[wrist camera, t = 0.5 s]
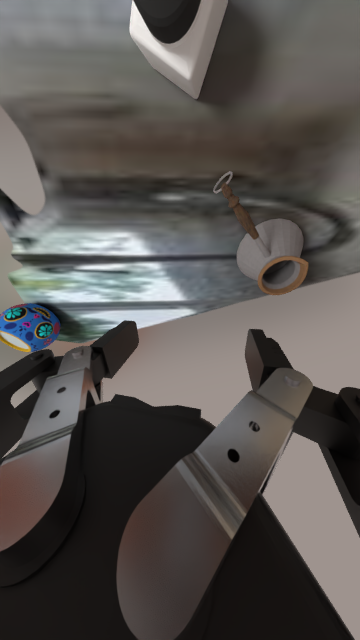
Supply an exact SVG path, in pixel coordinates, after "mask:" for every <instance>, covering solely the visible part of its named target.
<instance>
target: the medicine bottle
mask: <svg viewBox="0 0 360 640" xmlns="http://www.w3.org/2000/svg"><path fill="white" fill-rule="evenodd" d="M227 4H228V0H132V9H131V19H130V35H131V37H132V38H133V40H134V41H135V43H136V44H137V46H138V47H139V49H140V50H141V52H142V53H143V55H144V56H145V57H146V59H147V60H148V62H149V63H150V65H151V66H152V67H153V68H154V69H155V70H157V71H158V72H159V73H161V74H162V75H163V76H165V77H166V78H167V79H169V80H170V81H171V82H173V83H174V84H175V85H177V86H178V87H179V88H181V89H182V90H183V91H185V92H186V93H187V94H189V95H190V96H191V97H193V98H194V99H198V97H199V94H200V91H201V87H202V84H203V81H204V78H205V75H206V71H207V68H208V65H209V62H210V59H211V55H212V52H213V49H214V46H215V43H216V39H217V36H218V33H219V30H220V27H221V23H222V20H223V17H224V14H225V11H226V7H227Z"/></svg>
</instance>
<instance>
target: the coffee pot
mask: <svg viewBox="0 0 360 640" xmlns="http://www.w3.org/2000/svg"><path fill="white" fill-rule="evenodd" d="M228 174H231V176H230V178H229V180H228V181H227V182H226V183H223V184H222V185H221V189H219V190H218V191H215V189H216V187H217V185H218V184H219V183H220V181H221V180H222V179H223V178H224V177H225V176H227V175H228ZM231 178H232V172H230V171H229V172H228V173H226V174H225V175H224V176H222V177H221V178H220V180H219V181H218V182H217V184H216V185H215V187H214V191H213V192H214V193H218V192H220V191H221V190H222V192H223V195H224V197H225V198H227V199H228V201H229V207H230V208H233V209H234V212H235V214H236V216H237V219H238V221H239V222H240V224H241V225H242V226H243V227H244V229H245V230H246V231H247V232H248V233H247V234H246V235H245V237H244V238H243V240H242V241H241V243H240V245H239V248H238V250H237V264H238V266H239V268H240V270H241V271H242V272H243V273H244V274H245V275H246V276H248V277H250V278H252V279H255V280H257V281H258V286H259V288H260V289H261V290H262V291H263V292H265V293H267V294H270V295H281V294H285V293H288V292H291V291H292V290H294V289H296V288H297V287H298V286H299V285H300V284H301V283H302V282H303V281H304V279H305V277H306V274H307V270H308V262H307V261H305V260H304V259H301V258H300V255H301V252H302V248H303V235H302V231H301V230H300V228H299V227H298V226H297V224H295V223H293V222H292V221H290V220H286V219H281V218H280V219H270V220H268V221H265V222H262V223H260V224H258V225H257V226H254V224H253V222H252V220H251V218H250V216H249V214H248V212H247V211H246V210H245V209H244V208H243V207H242V206H241V205H240V203H239V197H238V196H234V195H233V194H232V189H231V188H230V187H229V186H228V185H227V184H228V183H229V182H230V180H231Z"/></svg>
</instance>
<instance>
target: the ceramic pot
mask: <svg viewBox="0 0 360 640" xmlns="http://www.w3.org/2000/svg"><path fill="white" fill-rule="evenodd" d="M59 332H60V322H59V320H58V318H57V317H56V316H55V315H54V314H53V313H52V312H51V311H50V310H48V309H46V308H44V307H42V306H39V305H36V304H21V305H16V306H13V307H11V308H9V309H7V310H6V311H4V312H3V313H2V314H0V340H1V341H2V342H4V343H5V344H7V345H8V346H11V347H12V348H15V349H17V350H20V351H24V352H34V351H37V350H41V349H43V348H45V347H47V346H48V345H50V344H51V343H52V342H53V341H54V340H55V339H56V338H57V337H58V335H59Z"/></svg>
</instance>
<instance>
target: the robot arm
mask: <svg viewBox="0 0 360 640" xmlns="http://www.w3.org/2000/svg"><path fill="white" fill-rule="evenodd" d="M138 343H139V338H138V332H137V326H136V323H135V321H123V322H122V323H120V324H119V325H118V326H117V327H115V328H113V329H111V330H109V331H108V332H107V333H106V334H104V335H103V336H102V337H100V338H99V339H98V340H97V341H95V342H94V343H93V344H92V345H90V346H80V347H76V348H74V349H71V350H70V351H68V352H67V353H66V354H65V355H64V356H57V357H54V354H53V352H52V351H51V350H49V349H46V350H40V351H36V352H34V353H31V354H29V355H27V356H26V357H24V358H23V359H21V360H19V361H18V362H16V363H14V364H13V365H11V366H9V367H8V368H6V369H4V370H3V371H1V372H0V640H355V639H354V638H353V636H352V635H351V633H350V632H349V630H348V628H347V627H346V625H345V624H344V622H343V621H342V619H341V618H340V616H339V614H338V613H337V611H336V610H335V608H334V607H333V605H332V603H331V602H330V600H329V599H328V597H327V596H326V594H325V592H324V591H323V589H322V588H321V586H320V585H319V583H318V581H317V580H316V578H315V577H314V575H313V574H312V572H311V571H310V569H309V567H308V566H307V564H306V563H305V561H304V560H303V558H302V556H301V555H300V553H299V552H298V550H297V549H296V547H295V545H294V544H293V543H292V541H291V539H290V538H289V536H288V535H287V533H286V531H285V530H284V528H283V527H282V525H281V524H280V522H279V520H278V519H277V517H276V516H275V514H274V513H273V511H272V509H271V508H270V506H269V505H268V503H267V502H266V500H265V499H264V497H263V494H264V492H265V490H266V487H267V485H268V483H269V481H270V479H271V477H272V475H273V473H274V471H275V469H276V467H277V464H278V462H279V460H280V458H281V456H282V454H283V452H284V450H285V448H286V446H287V444H288V442H289V440H290V438H291V436H292V434H293V432H295V433H297V434H299V435H301V436H303V437H306V438H308V439H310V440H312V441H314V442H316V443H318V444H319V447H320V449H321V451H322V453H323V456H324V458H325V460H326V462H327V465H328V467H329V469H330V471H331V474H332V476H333V478H334V480H335V483H336V485H337V487H338V490H339V492H340V494H341V496H342V498H343V501H344V503H345V505H346V508H347V510H348V512H349V514H350V517H351V519H352V521H353V523H354V526H355V528H356V530H357V533H358V535H359V537H360V389H357V388H353V387H345V388H342V389H341V390H340V392H339V394H335V393H332V392H329V391H326V390H323V389H320V388H317V387H315V386H313V384H312V382H311V381H310V379H309V378H308V377H306V376H305V375H304V374H302V373H300V372H298V371H296V370H294V369H293V367H292V366H291V364H290V363H289V361H288V359H287V357H286V356H285V354H284V352H283V351H282V350H281V348H280V346H279V344H278V343H277V342H276V341H275V340H273V339H272V338H266V336H265V334H264V332H263V330H260V329H249V331H248V336H247V342H246V348H245V359H246V363H247V368H248V371H249V376H250V381H251V385H252V389H253V391H252V390H251V391H250V392H248V393H247V394H246V395H245V397H244V398H243V399H242V400H241V401H240V402H239V403H238V404H237V405H236V406H235V407H234V409H233V410H232V411H231V412H230V413H229V414H228V415H227V416H226V417H225V418H224V420H223V421H222V422H221V423H220V424H219V425H218V426H217V427H215V426H214V425H212V424H211V423H210V422H208V421H206V420H205V419H203V418H201V410H200V409H196V408H190V407H185V406H179V405H175V406H159V407H153V406H151V405H149V404H147V403H145V402H143V401H141V400H139V399H137V398H134V397H129V396H123V395H118V394H115V396H114V398H113V399H112V400H111V401H109V402H103V382H102V379H103V377H104V378H111V379H112V378H113V376H114V375H115V373H116V372H117V371H118V370H119V369H120V368H121V366H122V365H123V364H124V363H125V361H126V360H127V359H128V358H129V356H130V355H131V354H132V353H133V352H134V350H135V349H136V348H137V346H138ZM31 380H32V382H33V384H34V385H35V387H36V389H37V390H36V391H35V392H34V393H33V394H31V395H30V396H29V397H28V398H27V399H25V400H24V401H23V402H22V403H21V404H19V405H18V406H17V407H16V408H14V407H13V406H12V404H11V402H10V400H11V397H12V395H13V394H14V393H15V392H16V391H17V390H18V389H20V388H21V387H23V386H24V385H25V384H26V383H28V382H29V381H31ZM20 439H21V440H20ZM19 440H20V443H19V445H18V446H17V448H16V449H15V450H14V451H12V452H11V453H9V454H8V455H7V456H5V457H3V456H4V455H5V454H6V453H7V452H8V451H9V450H10V449H11V448H12V447H13V446H14V445H15V444H16V443H17V442H18V441H19ZM2 457H3V458H2Z"/></svg>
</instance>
